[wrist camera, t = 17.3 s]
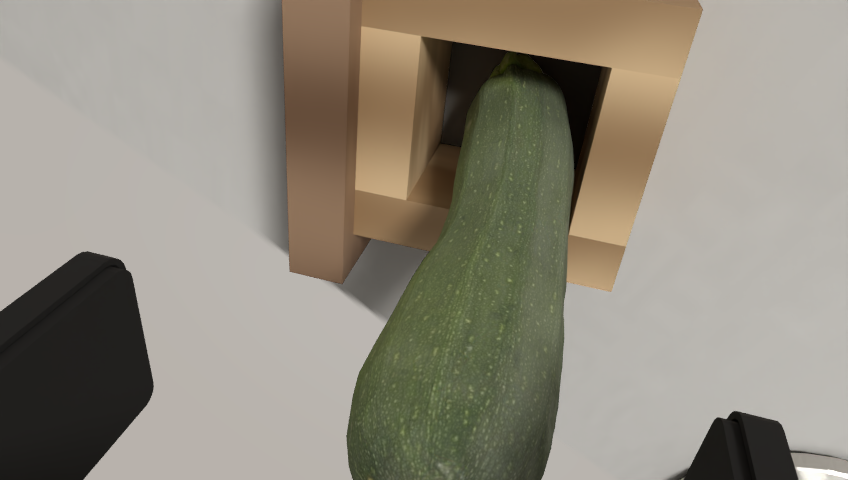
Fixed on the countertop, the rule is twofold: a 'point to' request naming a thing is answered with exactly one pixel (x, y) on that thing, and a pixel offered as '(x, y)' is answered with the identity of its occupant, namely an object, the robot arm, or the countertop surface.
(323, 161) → the wall
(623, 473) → the countertop surface
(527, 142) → the vegetable
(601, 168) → the socket block
